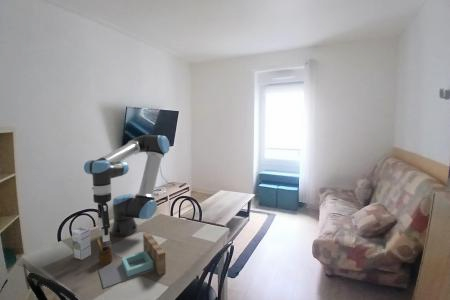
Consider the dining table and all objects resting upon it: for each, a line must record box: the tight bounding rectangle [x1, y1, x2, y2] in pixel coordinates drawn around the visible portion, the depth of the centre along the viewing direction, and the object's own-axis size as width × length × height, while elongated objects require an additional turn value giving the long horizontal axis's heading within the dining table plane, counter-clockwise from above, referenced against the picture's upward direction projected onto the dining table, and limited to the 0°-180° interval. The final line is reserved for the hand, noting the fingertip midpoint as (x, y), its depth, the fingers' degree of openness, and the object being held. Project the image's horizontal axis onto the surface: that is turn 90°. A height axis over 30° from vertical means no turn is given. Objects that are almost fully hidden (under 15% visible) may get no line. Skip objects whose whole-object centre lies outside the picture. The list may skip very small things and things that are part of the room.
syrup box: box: [71, 226, 92, 261], centre depth 117 cm, size 6×6×14 cm
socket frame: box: [121, 250, 154, 277], centre depth 109 cm, size 12×12×3 cm
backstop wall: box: [142, 231, 167, 276], centre depth 114 cm, size 24×3×10 cm, turn 36°
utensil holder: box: [97, 238, 113, 266], centre depth 113 cm, size 6×6×12 cm
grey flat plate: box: [98, 259, 156, 289], centre depth 107 cm, size 14×22×1 cm, turn 126°
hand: (103, 235), depth 111 cm, fingers open, 13 cm apart
